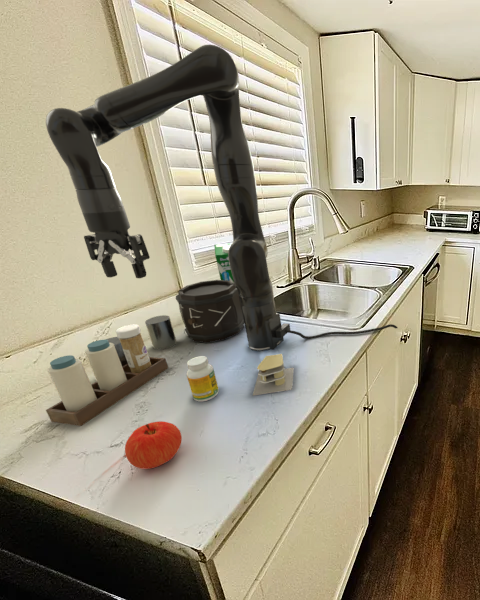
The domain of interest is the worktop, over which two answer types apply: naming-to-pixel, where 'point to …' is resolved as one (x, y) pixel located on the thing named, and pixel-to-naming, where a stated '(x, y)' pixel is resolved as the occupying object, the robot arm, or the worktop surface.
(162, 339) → the grey tins
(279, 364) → the stacked layers on plate
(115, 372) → the off-white bottles
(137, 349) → the sprinkles bottle
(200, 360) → the supplement bottle
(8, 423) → the worktop surface
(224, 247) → the milk carton
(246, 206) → the robot arm
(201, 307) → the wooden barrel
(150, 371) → the spice rack
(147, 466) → the apple
